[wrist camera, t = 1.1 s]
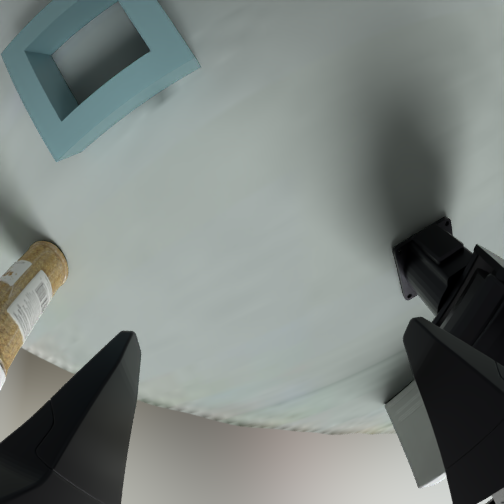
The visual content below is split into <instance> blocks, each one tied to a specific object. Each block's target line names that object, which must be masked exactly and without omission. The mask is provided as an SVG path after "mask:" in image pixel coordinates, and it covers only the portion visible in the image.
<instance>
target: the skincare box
mask: <svg viewBox="0 0 504 504" xmlns="http://www.w3.org/2000/svg"><path fill="white" fill-rule="evenodd" d="M385 408H386V410H387V413H388V415H389V417H390V419H391V422H392V424H393V426H394V429H395V431H396V433H397V435H398V438H399V440H400V442H401V445H402V447H403V450H404V452H405V454H406V457H407V459H408V462H409V464H410V467H411V469H412V472H413V475H414V477H415V480H416V483H417V486H418V488H422V487H427V486H431V485H435V484H437V483H438V482H440V481H442V480H443V479H445V478H446V473H445V469H444V465H443V461H442V458H441V454H440V451H439V448H438V444H437V441H436V438H435V435H434V432H433V429H432V426H431V423H430V420H429V417H428V414H427V411H426V408H425V406H424V403H423V400H422V397H421V395H420V392H419V389H418V387H417V384H416V381H415V380H414V381H412V382H411V383H410V384H409V385H408V386H407V387H406V388H405V389H404V390H402V391H401V392H400V393H399V394H398V395H397V396H395V397H394V398H393V399H392V400H391V401H389V402H388V403H387V404H386V405H385Z"/></svg>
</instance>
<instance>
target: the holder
mask: <svg viewBox="0 0 504 504" xmlns="http://www.w3.org/2000/svg"><path fill="white" fill-rule="evenodd" d="M117 1H118V2H119V3H120V5H121V6H122V8H123V9H124V11H125V12H126V14H127V15H128V17H129V18H130V20H131V21H132V23H133V24H134V26H135V27H136V29H137V31H138V32H139V34H140V35H141V37H142V38H143V40H144V41H145V43H146V44H147V46H148V48H149V49H150V52H148V53H147V54H145V55H144V56H142V57H141V58H139V59H138V60H136V61H135V62H133V63H132V64H130V65H129V66H128V67H126V68H125V69H124V70H122V71H121V72H119V73H118V74H117V75H115V76H114V77H113V78H111V79H110V80H109V81H108V82H106V83H105V84H104V85H103V86H101V87H100V88H99V89H98V90H96V91H95V92H94V93H93V94H92V95H90V96H89V97H88V98H87V99H86V100H85V101H84V102H82V103H81V104H80V105H78V103H77V101H76V100H75V98H74V96H73V94H72V93H71V91H70V89H69V87H68V86H67V84H66V82H65V80H64V79H63V77H62V75H61V73H60V71H59V70H58V68H57V66H56V64H55V62H54V60H53V58H52V57H51V55H52V54H53V53H54V52H55V51H56V50H57V49H58V48H59V47H60V46H61V45H62V44H63V43H64V42H66V41H67V40H68V39H69V38H70V37H71V36H72V35H74V34H75V33H76V32H77V31H78V30H80V29H81V28H82V27H83V26H85V25H86V24H87V23H88V22H90V21H91V20H92V19H93V18H95V17H96V16H97V15H99V14H100V13H101V12H103V11H104V10H106V9H107V8H108V7H110V6H111V5H113V4H114V3H116V2H117ZM1 56H2V58H3V61H4V63H5V65H6V68H7V70H8V72H9V74H10V77H11V79H12V81H13V83H14V85H15V88H16V90H17V92H18V94H19V96H20V98H21V100H22V102H23V104H24V106H25V108H26V110H27V112H28V113H29V115H30V117H31V119H32V121H33V123H34V125H35V127H36V128H37V130H38V132H39V134H40V135H41V137H42V139H43V141H44V142H45V144H46V146H47V148H48V149H49V151H50V153H51V154H52V156H53V158H54V159H55V161H56V162H58V161H60V160H63V159H65V158H68V157H70V156H73V155H75V154H78V153H80V152H82V151H83V150H84V149H85V148H86V147H87V146H89V145H90V144H91V143H92V142H93V141H94V140H96V139H97V138H98V137H99V136H100V135H102V134H103V133H104V132H105V131H107V130H108V129H109V128H110V127H112V126H113V125H114V124H115V123H117V122H118V121H119V120H121V119H122V118H123V117H125V116H126V115H127V114H129V113H130V112H131V111H133V110H134V109H135V108H137V107H138V106H140V105H141V104H143V103H144V102H145V101H147V100H148V99H150V98H151V97H153V96H154V95H156V94H157V93H159V92H160V91H162V90H163V89H165V88H166V87H168V86H170V85H171V84H173V83H174V82H176V81H178V80H179V79H181V78H183V77H184V76H186V75H188V74H189V73H191V72H193V71H195V70H196V69H198V68H200V67H201V66H200V65H199V63H198V61H197V60H196V58H195V56H194V55H193V53H192V52H191V50H190V49H189V47H188V46H187V44H186V43H185V41H184V40H183V38H182V37H181V35H180V34H179V32H178V31H177V29H176V28H175V26H174V25H173V23H172V22H171V20H170V19H169V17H168V16H167V14H166V13H165V11H164V10H163V9H162V7H161V6H160V4H159V3H158V1H157V0H52V1H51V2H50V3H49V4H48V5H47V6H46V7H45V8H44V9H42V10H41V11H40V12H39V13H38V14H37V15H36V16H35V17H34V18H33V19H32V20H31V21H30V22H29V23H28V24H27V25H26V26H25V27H24V28H23V29H22V30H21V32H20V33H19V34H18V35H17V36H16V37H15V38H14V39H13V40H12V41H11V43H10V44H9V45H8V46H7V47H6V48H5V50H4V51H3V52H2V53H1Z"/></svg>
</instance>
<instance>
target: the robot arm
mask: <svg viewBox="0 0 504 504" xmlns="http://www.w3.org/2000/svg"><path fill="white" fill-rule="evenodd" d="M445 223H446V224H445ZM399 250H400V251H399ZM398 251H399V252H398ZM393 254H394V258H395V262H396V266H397V270H398V274H399V278H400V283H401V287H402V292H403V296H404V298H405V299H406V300H410V299H412V298H413V297H415V296H417V295H418V296H419V297H420V298H421V299H422V300H423V302H424V303H425V304H426V305H427V306H428V308H429V309H430V310H431V311H432V313H433V314H434V315H435V316H436V317H435V318H434V320H433V321H432V323H431V322H430V321H428V320H426V319H425V318H423V317H416V318H412V319H411V320H410V322H409V324H408V326H407V329H406V331H405V333H404V336H403V342H404V346H405V349H406V352H407V355H408V359H409V362H410V366H411V369H412V372H413V376H414V379H415V381H416V384H417V387H418V389H419V392H420V395H421V397H422V400H423V403H424V406H425V408H426V411H427V414H428V417H429V420H430V423H431V426H432V429H433V432H434V435H435V438H436V441H437V444H438V448H439V451H440V454H441V458H442V461H443V465H444V469H445V473H446V477H447V481H448V485H449V489H450V493H451V497H452V501H453V504H477V503H479V502H481V501H482V500H484V499H486V498H488V497H489V496H491V495H492V497H493V498H492V499H491V500H490V501H488V502H487V503H486V504H504V260H503V259H502V258H500V257H499V256H497V255H495V254H494V253H492V252H490V251H489V250H487V249H485V248H483V247H482V246H480V245H478V244H476V246H475V248H474V252H473V253H472V252H470V251H469V250H468V249H467V248H465V247H464V244H463V243H462V242H460V241H459V240H458V239H456V238H455V237H454V236H453V234H452V226H451V220H450V219H449V218H448V217H443V218H442V219H440V220H439V221H437V222H435V223H434V224H432V225H430V226H429V227H427V228H425V229H424V230H422V231H420V232H419V233H417V234H415V235H414V236H412V237H410V238H409V239H407V240H405V241H404V242H402V243H400V244H398V245H397V246H395V248H394V249H393ZM140 362H141V350H140V346H139V343H138V340H137V336H136V334H135V332H133V331H121V332H120V333H119V334H117V335H116V336H115V337H114V338H113V339H112V340H111V341H110V342H109V343H108V344H107V345H106V346H105V347H104V348H102V349H101V350H100V351H99V352H98V353H97V354H96V355H95V356H94V357H93V358H92V359H91V360H90V361H89V362H88V363H87V364H86V365H85V366H83V367H82V368H81V369H80V370H79V371H78V372H77V373H76V374H75V375H74V376H73V377H72V378H71V379H70V380H69V381H68V382H67V383H66V384H65V385H64V386H63V387H62V388H61V389H60V390H59V391H58V392H57V393H56V394H55V395H54V396H53V397H52V398H51V400H49V401H47V402H46V403H45V404H44V406H42V407H41V408H40V409H39V410H38V411H37V412H36V413H35V414H34V415H33V416H32V417H31V418H30V419H29V420H27V421H26V422H25V423H24V424H23V425H22V426H20V427H19V428H18V429H17V430H15V431H14V432H13V433H12V434H10V435H9V436H8V437H7V438H5V439H4V440H3V441H2V442H1V443H0V504H121V498H122V488H123V481H124V474H125V467H126V460H127V452H128V446H129V441H130V434H131V429H132V423H133V418H134V413H135V408H136V402H137V395H138V383H139V372H140Z"/></svg>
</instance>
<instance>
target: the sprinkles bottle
mask: <svg viewBox="0 0 504 504" xmlns="http://www.w3.org/2000/svg"><path fill="white" fill-rule="evenodd" d="M67 276H68V265H67V262H66V259H65V257H64V255H63V254H62V252H61V251H60V250H59V249H58V248H57V247H56V246H55V245H53V244H52V243H50V242H46V241H37V242H35V243H33V244H32V245H31V246H30V248H29V250H28V251H27V252H26V253H25V254H24V255H23V256H22V257H21V258H20V259H19V260H18V261H17V262H15V263H14V264H13V265H12V266H11V267H10V268H9V269H8V270H7V271H6V272H5V274H4V275H3V276H2V277H1V278H0V390H1V388H2V386H3V384H4V382H5V377H6V375H7V370H8V368H9V367H10V365H11V363H12V361H13V359H14V358H15V355H16V354H17V353H18V351H19V349H20V348H21V347H22V345H23V344H24V342H25V340H26V339H27V337H28V335H29V334H30V332H31V331H32V329H33V327H34V326H35V324H36V323H37V321H38V320H39V318H40V316H41V315H42V313H43V312H44V310H45V309H46V307H47V306H48V304H49V303H50V301H51V298H52V297H53V295H54V294H55V292H56V291H57V289H58V288H59V287H60V286H61V285H62V284H64V282H65V281H66V279H67Z"/></svg>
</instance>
